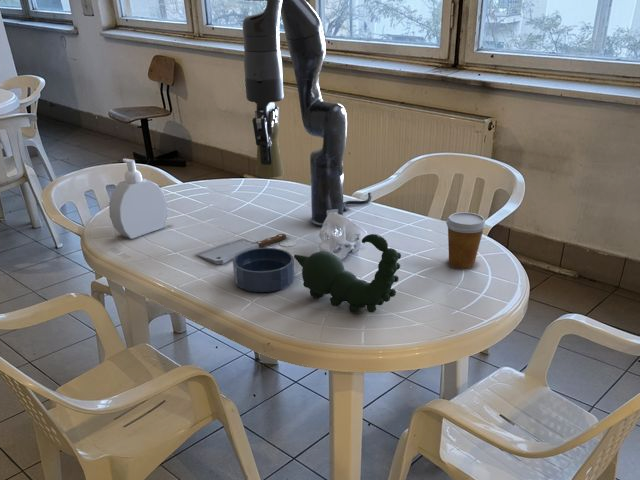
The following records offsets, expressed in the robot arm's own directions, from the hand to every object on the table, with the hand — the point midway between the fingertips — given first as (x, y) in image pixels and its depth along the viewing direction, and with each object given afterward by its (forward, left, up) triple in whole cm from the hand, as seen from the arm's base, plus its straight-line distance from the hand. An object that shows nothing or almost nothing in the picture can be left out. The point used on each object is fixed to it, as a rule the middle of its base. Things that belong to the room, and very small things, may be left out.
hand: (268, 161), depth 132 cm
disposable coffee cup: (-16, +44, -29) cm, 55 cm away
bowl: (0, -3, -28) cm, 29 cm away
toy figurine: (+10, +18, -29) cm, 35 cm away
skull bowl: (-19, +13, -29) cm, 37 cm away
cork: (0, 0, -3) cm, 3 cm away
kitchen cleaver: (-19, -13, -29) cm, 36 cm away
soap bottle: (-27, -45, -29) cm, 59 cm away
